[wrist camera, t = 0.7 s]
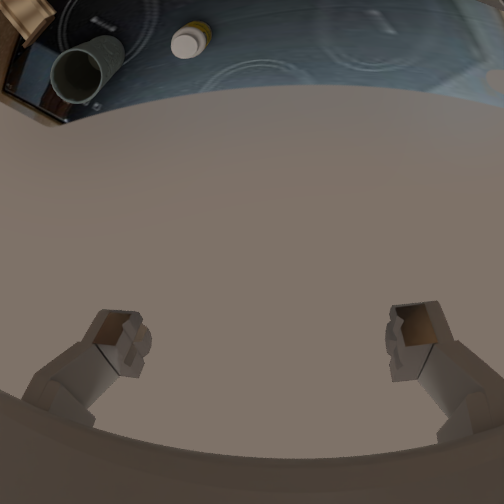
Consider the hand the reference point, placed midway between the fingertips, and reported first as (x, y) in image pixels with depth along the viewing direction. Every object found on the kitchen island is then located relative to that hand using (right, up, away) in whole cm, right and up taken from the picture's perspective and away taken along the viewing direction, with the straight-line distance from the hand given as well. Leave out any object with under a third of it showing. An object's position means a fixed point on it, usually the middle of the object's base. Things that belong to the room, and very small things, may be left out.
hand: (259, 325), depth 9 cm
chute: (-46, +52, +18) cm, 72 cm away
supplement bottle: (-10, +39, +33) cm, 52 cm away
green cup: (-27, +39, +34) cm, 59 cm away
